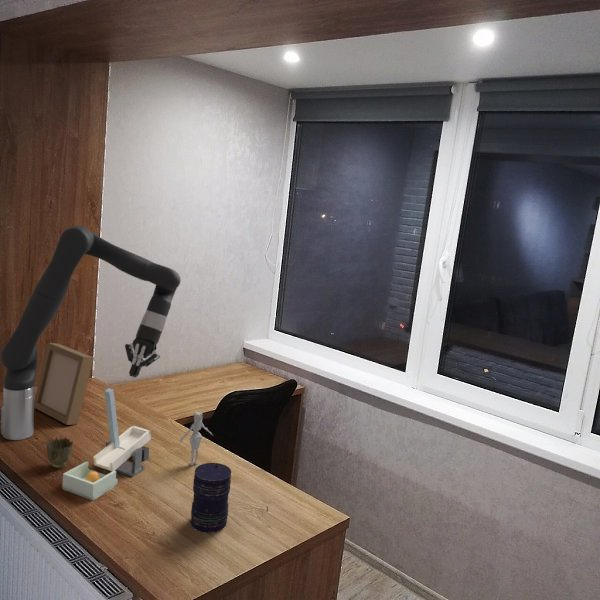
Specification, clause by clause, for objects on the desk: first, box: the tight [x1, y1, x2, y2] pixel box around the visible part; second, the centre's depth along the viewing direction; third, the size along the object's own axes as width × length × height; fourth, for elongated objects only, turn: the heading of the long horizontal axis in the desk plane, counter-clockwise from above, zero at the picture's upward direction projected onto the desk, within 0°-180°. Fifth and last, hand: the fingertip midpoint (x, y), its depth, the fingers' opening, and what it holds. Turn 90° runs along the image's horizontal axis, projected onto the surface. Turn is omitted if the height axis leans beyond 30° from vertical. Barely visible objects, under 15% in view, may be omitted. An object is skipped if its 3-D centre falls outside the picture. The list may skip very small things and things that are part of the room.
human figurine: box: [178, 411, 213, 467], centre depth 181 cm, size 12×4×18 cm, turn 130°
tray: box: [62, 460, 119, 502], centre depth 163 cm, size 11×10×5 cm
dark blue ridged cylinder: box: [190, 462, 232, 534], centre depth 151 cm, size 10×10×15 cm
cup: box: [45, 437, 74, 470], centre depth 172 cm, size 8×7×8 cm
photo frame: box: [34, 342, 94, 426], centre depth 210 cm, size 15×22×25 cm
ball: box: [86, 471, 99, 483], centre depth 163 cm, size 4×4×4 cm
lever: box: [93, 388, 152, 472], centre depth 171 cm, size 9×18×21 cm, turn 158°
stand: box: [105, 439, 150, 478], centre depth 178 cm, size 12×12×8 cm
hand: (132, 376), depth 185 cm, fingers closed
